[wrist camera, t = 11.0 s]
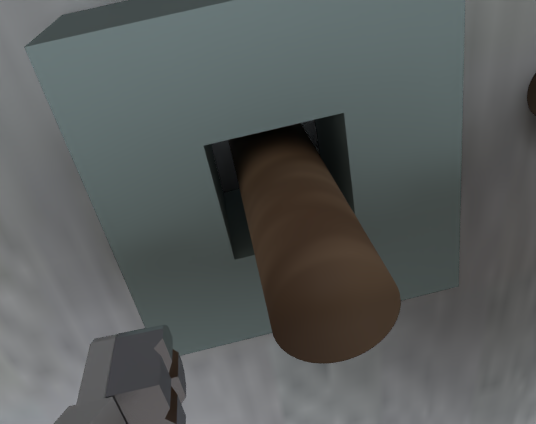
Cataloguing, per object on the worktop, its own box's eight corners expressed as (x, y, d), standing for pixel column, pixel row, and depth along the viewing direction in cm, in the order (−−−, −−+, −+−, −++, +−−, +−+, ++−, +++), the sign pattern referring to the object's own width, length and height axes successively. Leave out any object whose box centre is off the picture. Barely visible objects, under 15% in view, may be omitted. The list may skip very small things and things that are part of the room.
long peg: (294, 92, 20) (397, 246, 11) (305, 159, 22) (403, 345, 12) (220, 109, 20) (259, 280, 10) (237, 175, 21) (283, 376, 12)
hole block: (397, -60, 18) (466, -52, 14) (408, 220, 24) (458, 286, 20) (62, 15, 17) (24, 47, 13) (163, 280, 24) (159, 360, 19)
